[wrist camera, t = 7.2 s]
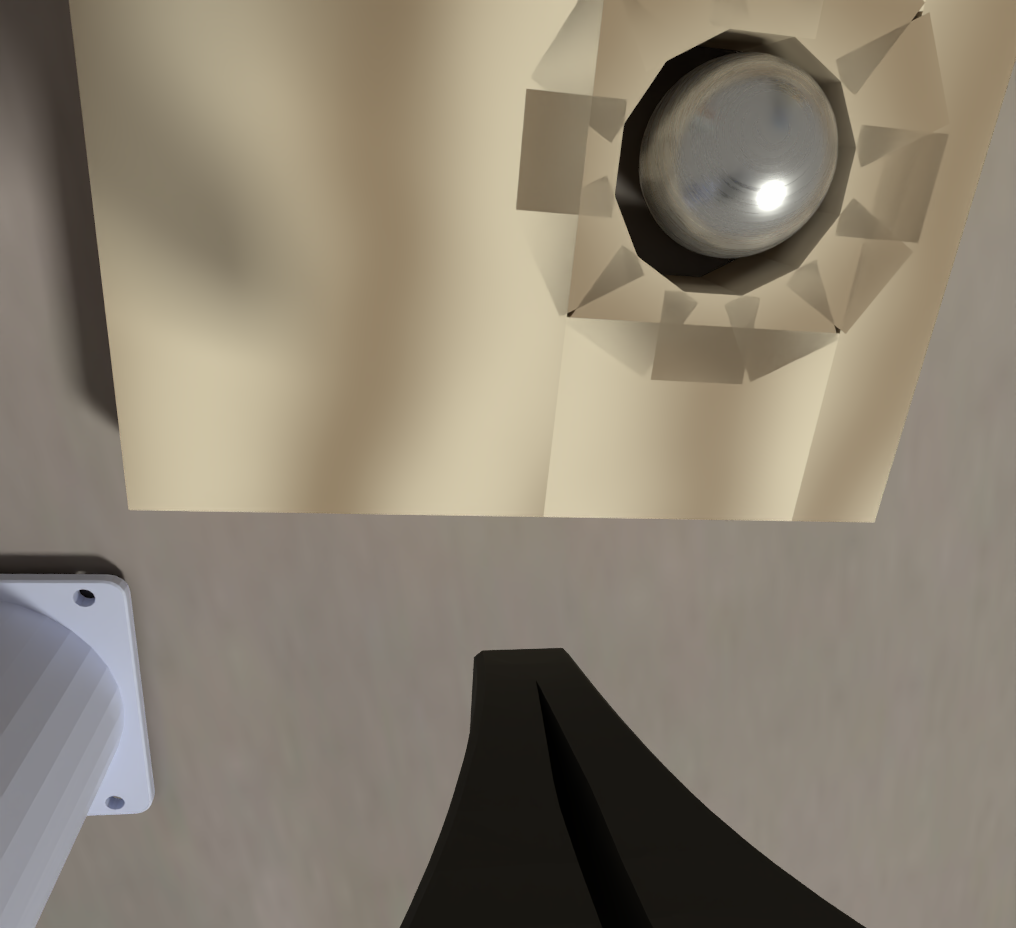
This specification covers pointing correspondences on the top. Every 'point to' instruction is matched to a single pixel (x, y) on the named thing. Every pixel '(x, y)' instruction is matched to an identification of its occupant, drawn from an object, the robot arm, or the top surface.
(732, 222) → the steel ball
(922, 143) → the hole plate
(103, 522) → the top surface
